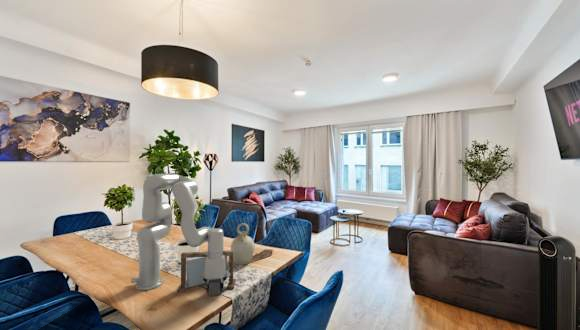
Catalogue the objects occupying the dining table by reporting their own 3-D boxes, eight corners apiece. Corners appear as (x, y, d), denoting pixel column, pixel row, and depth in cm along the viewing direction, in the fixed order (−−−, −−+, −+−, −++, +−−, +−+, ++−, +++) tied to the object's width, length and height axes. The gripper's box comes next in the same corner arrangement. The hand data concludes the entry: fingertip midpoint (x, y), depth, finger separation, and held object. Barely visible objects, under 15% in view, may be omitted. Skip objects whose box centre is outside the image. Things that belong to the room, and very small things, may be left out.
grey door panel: (186, 288, 118) (186, 260, 118) (186, 287, 119) (186, 260, 119) (226, 276, 130) (226, 252, 130) (226, 275, 131) (226, 251, 131)
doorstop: (208, 295, 111) (209, 283, 111) (213, 281, 126) (213, 270, 126) (219, 295, 112) (219, 282, 112) (223, 280, 127) (223, 269, 127)
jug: (236, 255, 162) (236, 220, 162) (257, 257, 159) (257, 221, 159) (226, 264, 147) (226, 225, 147) (249, 266, 144) (249, 226, 144)
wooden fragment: (267, 248, 176) (267, 247, 176) (278, 251, 170) (278, 250, 170) (243, 260, 154) (243, 259, 154) (256, 264, 148) (256, 263, 148)
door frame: (176, 292, 114) (176, 256, 114) (182, 284, 122) (182, 250, 122) (234, 288, 118) (234, 253, 118) (235, 281, 126) (235, 248, 126)
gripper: (195, 257, 110) (195, 295, 110) (232, 256, 112) (231, 293, 112) (199, 251, 118) (199, 287, 117) (233, 250, 120) (233, 285, 120)
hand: (215, 289), depth 115 cm, fingers closed on doorstop, 5 cm apart
